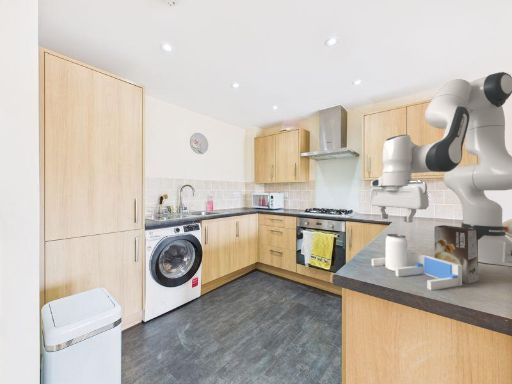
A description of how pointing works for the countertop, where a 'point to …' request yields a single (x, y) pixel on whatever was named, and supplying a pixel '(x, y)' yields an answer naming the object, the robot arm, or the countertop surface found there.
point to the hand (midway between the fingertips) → (395, 220)
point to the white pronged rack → (429, 270)
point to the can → (395, 252)
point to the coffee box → (458, 249)
